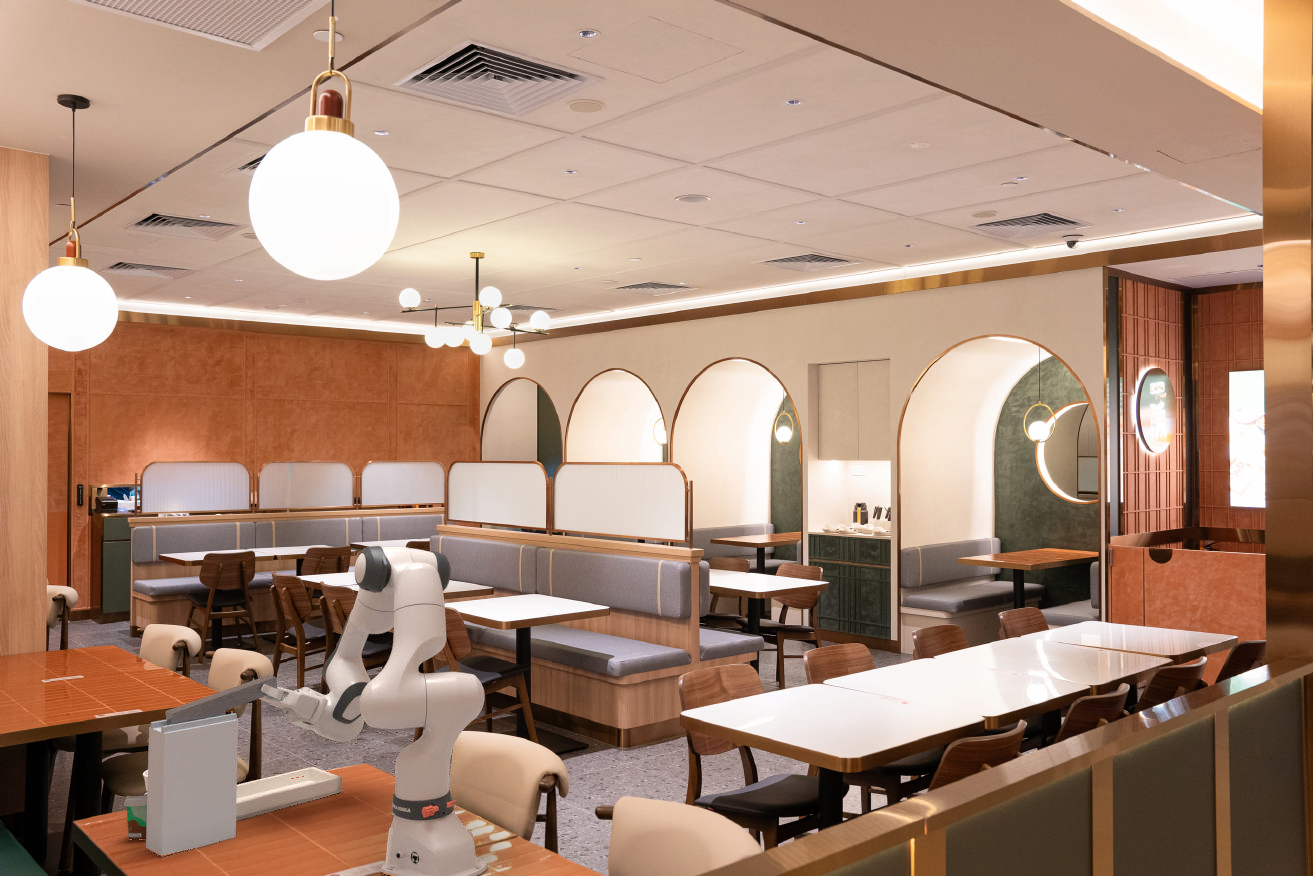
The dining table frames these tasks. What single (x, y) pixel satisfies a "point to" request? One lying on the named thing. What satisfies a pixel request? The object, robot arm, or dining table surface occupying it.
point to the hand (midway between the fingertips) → (256, 685)
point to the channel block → (191, 783)
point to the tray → (284, 791)
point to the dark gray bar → (219, 701)
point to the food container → (137, 816)
